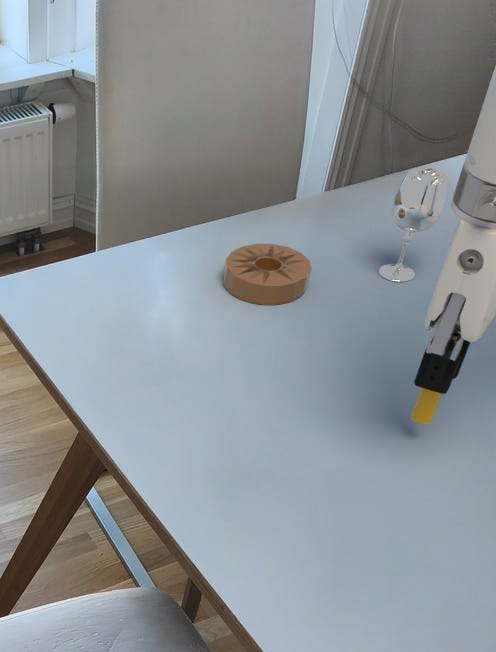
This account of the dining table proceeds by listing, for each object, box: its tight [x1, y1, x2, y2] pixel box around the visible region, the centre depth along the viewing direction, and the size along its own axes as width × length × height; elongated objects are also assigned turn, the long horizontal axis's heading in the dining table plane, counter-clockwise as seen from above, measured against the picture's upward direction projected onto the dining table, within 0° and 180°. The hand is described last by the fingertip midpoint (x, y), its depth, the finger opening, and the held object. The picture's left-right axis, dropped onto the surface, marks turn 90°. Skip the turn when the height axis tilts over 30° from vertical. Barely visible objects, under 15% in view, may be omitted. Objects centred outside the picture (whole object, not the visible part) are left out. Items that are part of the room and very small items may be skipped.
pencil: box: [411, 335, 457, 425], centre depth 87 cm, size 2×2×10 cm
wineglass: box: [378, 167, 449, 283], centre depth 108 cm, size 6×6×12 cm
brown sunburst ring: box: [222, 243, 312, 306], centre depth 112 cm, size 10×10×3 cm
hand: (435, 380), depth 87 cm, fingers closed on pencil, 2 cm apart
